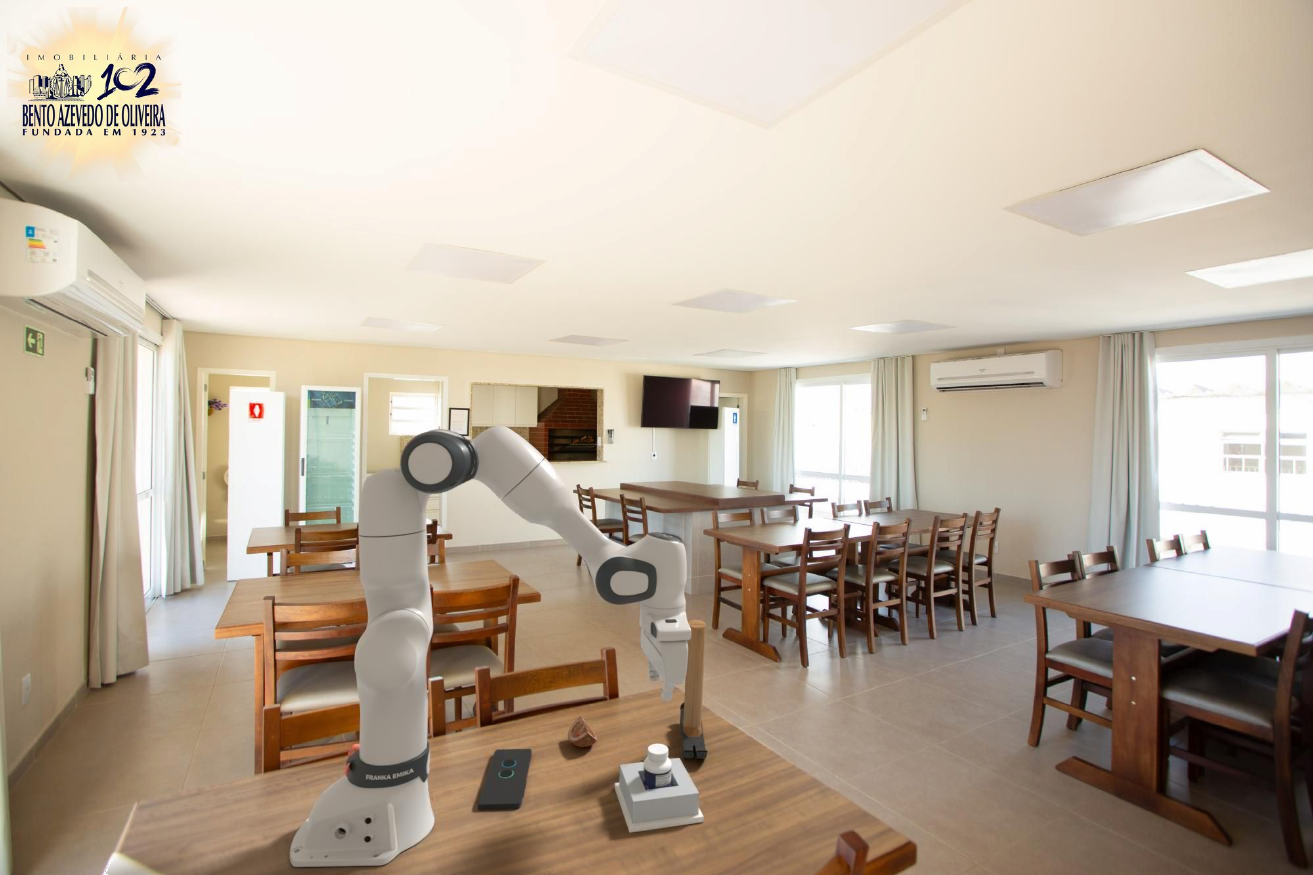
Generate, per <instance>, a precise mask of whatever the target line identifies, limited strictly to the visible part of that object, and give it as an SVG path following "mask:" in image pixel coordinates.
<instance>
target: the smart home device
mask: <svg viewBox="0 0 1313 875" xmlns="http://www.w3.org/2000/svg"><path fill="white" fill-rule="evenodd" d="M532 753H533V752H532V749H531V748H512V749H511V748H503V749H502V748H501V749H495V751H494V753H493V756H492V758H491V762H490V764H489V768H488V770H487V774H486V777H485V779H484V782H483V785H482V789H481V792H480V795H479V797H478V798H479V799H478V800H477V809H478V811H499V810H500V811H502V810H519V809H520V808H521V807H522V802H523V798H525V797H524V796H525V792H526V787H527V779H528V775H529V770H530V765H531V761H532V760H531V759H532Z"/></svg>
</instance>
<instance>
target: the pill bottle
mask: <svg viewBox="0 0 1313 875" xmlns="http://www.w3.org/2000/svg"><path fill="white" fill-rule="evenodd" d="M670 759H671V758H669V748H668V746H667V745H665V744H662V743H653V744H650V745H649V746H648V747H647V756H646V758H645V759H644V761H643V762H644V772H643V785H644V788H645V790H650V789H658V788H666V787H671V769H672V765H671V761H670Z"/></svg>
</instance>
